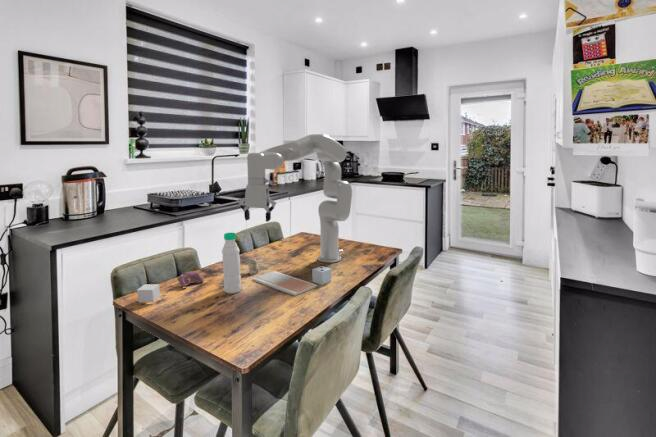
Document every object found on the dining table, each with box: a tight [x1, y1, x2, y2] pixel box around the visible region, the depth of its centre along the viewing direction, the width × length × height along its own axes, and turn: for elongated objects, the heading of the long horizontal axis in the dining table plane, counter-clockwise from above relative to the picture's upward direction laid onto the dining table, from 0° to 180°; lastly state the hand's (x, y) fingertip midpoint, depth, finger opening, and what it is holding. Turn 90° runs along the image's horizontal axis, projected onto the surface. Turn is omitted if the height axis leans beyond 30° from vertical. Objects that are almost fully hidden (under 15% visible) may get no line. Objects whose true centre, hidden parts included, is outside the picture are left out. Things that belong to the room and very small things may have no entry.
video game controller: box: [177, 270, 204, 288], centre depth 171 cm, size 10×5×7 cm, turn 141°
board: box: [252, 270, 318, 297], centre depth 172 cm, size 13×28×1 cm, turn 48°
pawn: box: [248, 258, 259, 275], centre depth 186 cm, size 4×4×7 cm
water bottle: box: [221, 232, 242, 294], centre depth 162 cm, size 7×7×25 cm
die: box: [311, 265, 332, 286], centre depth 174 cm, size 6×6×6 cm
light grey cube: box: [136, 283, 161, 302], centre depth 153 cm, size 6×6×6 cm
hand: (257, 220), depth 171 cm, fingers open, 9 cm apart
